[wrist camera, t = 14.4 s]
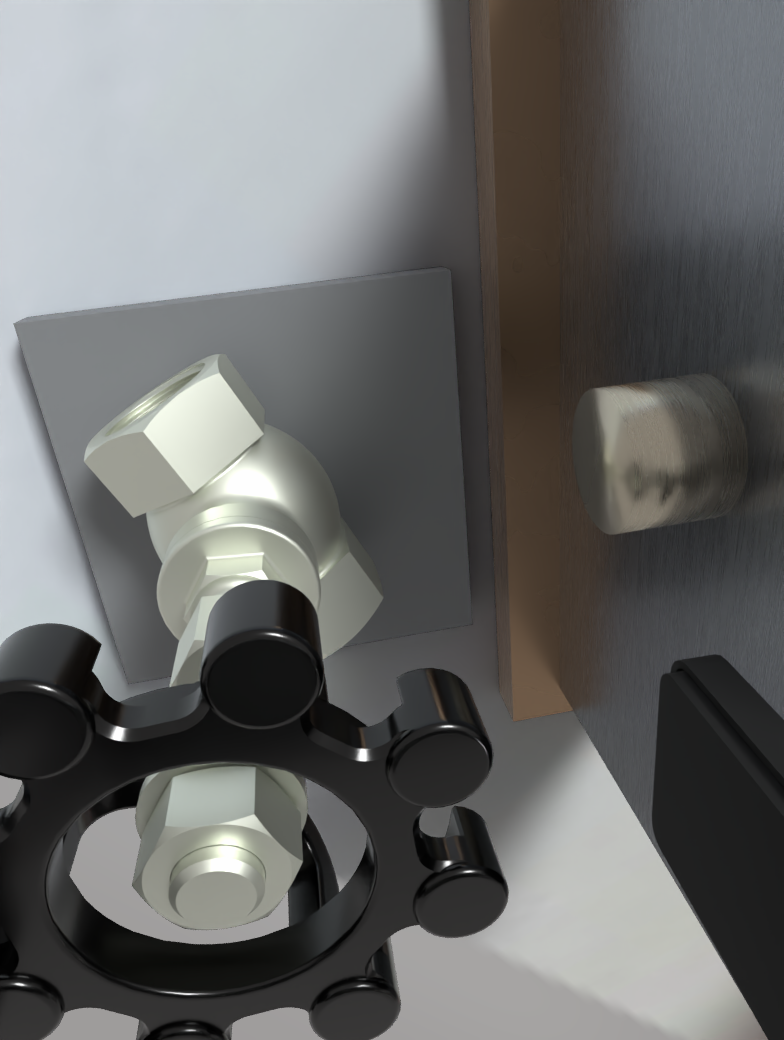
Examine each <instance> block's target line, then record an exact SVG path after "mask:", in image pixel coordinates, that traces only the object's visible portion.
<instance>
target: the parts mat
mask: <svg viewBox="0 0 784 1040" xmlns="http://www.w3.org/2000/svg"><path fill="white" fill-rule="evenodd" d="M14 327H15V330H16V333H17V336H18V339H19V342H20V346H21V349H22V352H23V355H24V358H25V361H26V364H27V367H28V371H29V374H30V377H31V380H32V383H33V386H34V389H35V393H36V396H37V399H38V402H39V405H40V408H41V411H42V415H43V418H44V421H45V424H46V427H47V430H48V433H49V437H50V440H51V443H52V446H53V449H54V452H55V455H56V459H57V462H58V465H59V468H60V471H61V474H62V477H63V480H64V484H65V487H66V490H67V493H68V496H69V499H70V502H71V506H72V509H73V512H74V515H75V518H76V521H77V524H78V528H79V531H80V534H81V537H82V540H83V543H84V546H85V550H86V553H87V556H88V559H89V562H90V565H91V568H92V571H93V575H94V578H95V581H96V584H97V587H98V590H99V593H100V597H101V600H102V603H103V606H104V609H105V612H106V615H107V619H108V622H109V625H110V628H111V631H112V634H113V637H114V641H115V644H116V647H117V650H118V653H119V656H120V659H121V662H122V666H123V669H124V672H125V675H126V678H127V681H128V684H132V683H138V682H144V681H150V680H155V679H161V678H167V677H171V676H172V672H173V667H174V662H175V657H176V653H177V648H178V643H179V640H178V639H177V638H176V637H175V636H174V635H173V634H172V632H171V631H170V630H169V628H168V627H167V626H166V624H165V622H164V620H163V618H162V615H161V613H160V611H159V607H158V601H157V582H158V578H159V574H160V570H161V567H162V564H163V563H162V562H161V560H160V558H159V556H158V554H157V552H156V550H155V548H154V546H153V543H152V540H151V537H150V533H149V529H148V524H147V517H146V513H144V514H142V515H139V516H137V517H134V518H133V517H132V516H131V515H130V513H129V512H128V511H127V510H126V509H125V508H124V507H123V505H122V504H121V503H120V502H119V501H118V500H117V499H116V498H115V496H114V495H113V494H112V493H111V492H110V491H109V490H108V488H107V487H106V486H105V485H104V484H103V483H102V482H101V481H100V479H99V478H98V477H97V476H96V475H95V474H94V473H93V471H92V470H91V469H90V468H89V467H88V466H87V465H86V463H85V462H84V456H85V451H86V448H87V445H88V443H89V442H90V441H91V439H92V438H93V437H94V436H95V435H96V434H97V433H98V432H99V431H100V430H101V429H102V428H103V427H105V426H106V425H107V424H108V423H109V422H110V421H112V420H113V419H114V418H115V417H116V416H118V415H119V414H120V413H121V412H123V411H124V410H125V409H126V408H128V407H129V406H130V405H132V404H133V403H134V402H136V401H137V400H138V399H140V398H141V397H143V396H144V395H145V394H147V393H148V392H150V391H151V390H153V389H154V388H155V387H157V386H158V385H160V384H161V383H163V382H164V381H166V380H167V379H169V378H170V377H172V376H174V375H175V374H177V373H178V372H180V371H182V370H183V369H185V368H187V367H189V366H190V365H192V364H194V363H196V362H198V361H200V360H202V359H204V358H206V357H208V356H211V355H215V354H225V355H226V356H227V358H228V359H229V360H230V362H231V363H232V365H233V366H234V367H235V369H236V370H237V372H238V373H239V374H240V376H241V377H242V379H243V380H244V381H245V383H246V384H247V386H248V387H249V388H250V390H251V391H252V393H253V394H254V395H255V397H256V398H257V400H258V401H259V402H260V404H261V405H262V407H263V408H264V409H265V416H264V424H267V425H270V426H272V427H275V428H277V429H279V430H281V431H283V432H285V433H286V434H288V435H290V436H291V437H293V438H294V439H296V440H297V441H298V442H300V443H301V444H302V445H303V446H304V447H305V448H307V449H308V450H309V451H310V452H311V454H312V455H313V456H314V457H315V458H316V459H317V461H318V462H319V463H320V464H321V466H322V467H323V469H324V470H325V472H326V473H327V475H328V477H329V479H330V481H331V483H332V486H333V488H334V491H335V494H336V497H337V500H338V506H339V511H340V518H341V517H342V518H343V520H344V521H345V523H346V524H347V525H348V527H349V528H350V530H351V531H352V532H353V534H354V535H355V537H356V538H357V539H358V541H359V542H360V544H361V545H362V546H363V548H364V549H365V551H366V552H367V553H368V555H369V556H370V558H371V559H372V560H373V562H374V565H375V567H376V570H377V572H378V575H379V578H380V581H381V585H382V589H383V597H384V598H383V600H382V601H381V603H380V605H379V606H378V608H377V610H376V611H375V612H374V614H373V615H372V617H371V618H370V619H369V621H368V622H367V623H366V624H365V626H364V627H363V628H362V629H361V630H360V631H359V632H358V633H357V634H356V635H355V636H354V637H353V638H352V639H351V640H350V641H349V642H348V643H346V644H345V645H344V646H343V647H345V646H351V645H357V644H363V643H368V642H374V641H380V640H386V639H391V638H397V637H403V636H409V635H414V634H420V633H426V632H432V631H437V630H443V629H449V628H455V627H460V626H466V625H472V608H471V592H470V576H469V559H468V543H467V527H466V510H465V494H464V478H463V461H462V445H461V429H460V412H459V396H458V380H457V363H456V347H455V331H454V314H453V298H452V282H451V270H449V269H447V268H444V267H434V268H426V269H418V270H410V271H402V272H393V273H385V274H377V275H369V276H361V277H352V278H344V279H336V280H328V281H320V282H311V283H303V284H295V285H287V286H279V287H270V288H262V289H254V290H246V291H238V292H229V293H221V294H213V295H205V296H197V297H188V298H180V299H172V300H164V301H156V302H147V303H139V304H131V305H123V306H115V307H106V308H98V309H90V310H82V311H74V312H65V313H57V314H49V315H41V316H33V317H27V318H25V319H22V320H20V321H18V322H16V323H14Z"/></svg>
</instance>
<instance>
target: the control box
mask: <svg viewBox="0 0 784 1040" xmlns="http://www.w3.org/2000/svg"><path fill="white" fill-rule="evenodd" d="M469 12H470V35H471V57H472V80H473V103H474V125H475V148H476V171H477V193H478V216H479V239H480V261H481V284H482V307H483V329H484V352H485V374H486V397H487V420H488V442H489V465H490V488H491V510H492V533H493V556H494V578H495V601H496V624H497V646H498V669H499V692H500V694H501V696H502V698H503V700H504V702H505V705H506V707H507V709H508V711H509V713H510V715H511V717H512V720H513V722H515V721H520V720H525V719H530V718H536V717H541V716H546V715H552V714H557V713H562V712H567V711H574V713H575V714H576V716H577V718H578V719H579V721H580V723H581V724H582V726H583V728H584V729H585V731H586V733H587V734H588V736H589V738H590V739H591V741H592V743H593V744H594V746H595V748H596V750H597V751H598V753H599V755H600V756H601V758H602V760H603V761H604V763H605V765H606V766H607V768H608V770H609V771H610V773H611V775H612V776H613V778H614V780H615V782H616V783H617V785H618V787H619V788H620V790H621V792H622V793H623V795H624V797H625V798H626V800H627V802H628V803H629V805H630V807H631V808H632V810H633V812H634V813H635V815H636V817H637V819H638V820H639V822H640V824H641V825H642V827H643V829H644V830H645V832H646V834H647V835H648V837H649V839H650V840H651V842H652V844H653V845H654V847H655V849H656V850H657V852H658V854H659V856H660V857H661V859H662V861H663V862H664V864H665V866H666V867H667V869H668V871H669V872H670V874H671V876H672V877H673V879H674V881H675V882H676V884H677V886H678V887H679V889H680V891H681V893H682V894H683V896H684V898H685V899H686V901H687V903H688V904H689V906H690V908H691V909H692V911H693V913H694V914H695V916H696V918H697V919H698V921H699V923H700V924H701V926H702V928H703V930H704V931H705V933H706V935H707V936H708V938H709V940H710V941H711V943H712V945H713V946H714V948H715V950H716V951H717V953H718V955H719V956H720V954H719V952H718V950H717V949H716V947H715V945H714V943H713V941H712V940H711V938H710V936H709V934H708V933H707V931H706V929H705V927H704V926H703V924H702V922H701V920H700V919H699V917H698V915H697V913H696V912H695V910H694V908H693V906H692V904H691V903H690V901H689V899H688V897H687V896H686V894H685V892H684V890H683V889H682V887H681V885H680V883H679V882H678V880H677V878H676V876H675V875H674V873H673V871H672V869H671V867H670V866H669V864H668V862H667V860H666V859H665V857H664V855H663V853H662V852H661V850H660V848H659V846H658V844H657V841H656V838H655V835H654V831H653V827H652V805H653V788H654V772H655V756H656V739H657V723H658V706H659V690H660V680H661V677H662V675H663V674H665V673H670V672H671V667H672V665H673V663H674V662H675V661H677V660H682V659H689V658H695V657H701V656H707V655H713V654H717V655H721V656H722V657H723V658H725V659H726V660H727V661H728V662H729V663H730V664H731V665H732V666H733V667H734V668H735V669H736V670H737V671H738V672H739V674H740V675H741V676H742V677H743V678H744V679H745V680H746V681H747V682H748V683H749V684H750V685H751V686H752V687H753V688H754V689H755V690H756V691H757V692H758V693H759V694H760V695H761V697H762V698H763V699H764V700H765V701H766V702H767V703H768V704H769V705H770V706H771V707H772V708H773V709H774V710H775V711H776V712H777V713H778V714H779V715H780V716H781V717H782V718H783V720H784V0H469ZM720 958H721V960H722V961H723V959H722V957H721V956H720ZM723 963H724V961H723ZM724 965H725V967H726V968H727V966H726V964H725V963H724ZM727 970H728V968H727ZM728 972H729V973H730V971H729V970H728ZM730 975H731V973H730ZM731 977H732V975H731ZM732 978H733V977H732ZM733 980H734V978H733ZM734 982H735V980H734ZM735 983H736V982H735ZM736 985H737V984H736ZM737 987H738V986H737ZM738 988H739V987H738ZM739 990H740V989H739ZM740 992H741V991H740ZM742 995H743V994H742ZM743 997H744V996H743ZM746 1002H747V1001H746ZM747 1004H748V1003H747ZM750 1009H751V1008H750Z"/></svg>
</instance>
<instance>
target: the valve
mask: <svg viewBox="0 0 784 1040" xmlns="http://www.w3.org/2000/svg"><path fill="white" fill-rule="evenodd" d="M264 416H265V409H264V408H263V407H262V405H261V404H260V402H259V401H258V400H257V398H256V397H255V395H254V394H253V393H252V391H251V390H250V388H249V387H248V386H247V384H246V383H245V381H244V380H243V379H242V377H241V376H240V374H239V373H238V372H237V370H236V369H235V367H234V366H233V365H232V363H231V362H230V360H229V359H228V358H227V356H226V355H225V354H215V355H211V356H208V357H206V358H204V359H202V360H200V361H198V362H196V363H194V364H192V365H190V366H189V367H187V368H185V369H183V370H182V371H180V372H178V373H177V374H175V375H174V376H172V377H170V378H169V379H167V380H166V381H164V382H163V383H161V384H160V385H158V386H157V387H155V388H154V389H153V390H151V391H150V392H148V393H147V394H145V395H144V396H143V397H141V398H140V399H138V400H137V401H136V402H134V403H133V404H132V405H130V406H129V407H128V408H126V409H125V410H124V411H123V412H121V413H120V414H119V415H118V416H116V417H115V418H114V419H113V420H112V421H110V422H109V423H108V424H107V425H106V426H105V427H103V428H102V429H101V430H100V431H99V432H98V433H97V434H96V435H95V436H94V437H93V438H92V439H91V441H90V442H89V443H88V445H87V448H86V451H85V456H84V462H85V463H86V465H87V466H88V467H89V468H90V469H91V470H92V471H93V473H94V474H95V475H96V476H97V477H98V478H99V479H100V481H101V482H102V483H103V484H104V485H105V486H106V487H107V488H108V490H109V491H110V492H111V493H112V494H113V495H114V496H115V498H116V499H117V500H118V501H119V502H120V503H121V504H122V505H123V507H124V508H125V509H126V510H127V511H128V512H129V513H130V515H131V516H132V517H133V518H134V517H137V516H139V515H142V514H144V513H146V517H147V524H148V529H149V533H150V537H151V540H152V543H153V546H154V548H155V550H156V552H157V554H158V556H159V558H160V560H161V562H162V563H163V564H162V567H161V570H160V574H159V578H158V582H157V601H158V607H159V611H160V613H161V615H162V618H163V620H164V622H165V624H166V626H167V627H168V628H169V630H170V631H171V632H172V634H173V635H174V636H175V637H176V638H177V639H178V640H179V643H178V648H177V653H176V657H175V662H174V667H173V672H172V676H171V681H170V686H169V687H167V688H162V689H157V690H154V691H151V692H147V693H144V694H141V695H137V696H134V697H131V698H129V699H126V700H124V701H121V702H117V701H115V700H114V699H113V698H111V697H110V696H109V695H108V694H107V693H106V692H105V690H104V689H103V687H102V685H101V683H100V681H99V680H98V678H97V677H96V675H95V674H94V673H93V672H92V669H93V667H94V664H95V661H96V659H97V656H98V654H99V651H100V648H101V643H100V642H99V641H97V640H96V639H95V638H94V637H93V636H91V635H89V634H88V633H86V632H84V631H82V630H80V629H77V628H75V627H72V626H68V625H63V624H52V623H46V624H37V625H33V626H29V627H26V628H24V629H21V630H19V631H17V632H15V633H14V634H12V635H11V636H10V637H8V638H7V639H6V640H5V641H4V642H3V643H2V644H1V646H0V775H1V776H4V777H8V778H13V779H18V780H22V782H23V783H22V785H21V787H20V790H19V792H18V794H17V796H16V799H15V800H14V801H13V802H12V803H11V804H9V805H8V806H6V807H4V808H1V809H0V1040H42V1039H44V1038H45V1037H47V1036H48V1035H50V1034H51V1033H52V1032H53V1031H54V1030H55V1029H56V1028H57V1027H58V1025H59V1024H60V1022H61V1020H62V1018H63V1015H64V1013H65V1012H67V1011H70V1010H74V1009H78V1008H86V1007H87V1008H89V1007H91V1008H101V1009H105V1010H109V1011H113V1012H116V1013H120V1014H124V1015H128V1016H132V1017H135V1018H137V1019H139V1025H138V1031H137V1038H136V1040H231V1037H232V1024H233V1022H235V1021H237V1020H239V1019H241V1018H243V1017H246V1016H250V1015H254V1014H258V1013H262V1012H266V1011H269V1010H274V1009H278V1008H284V1007H295V1008H300V1009H304V1010H306V1011H307V1012H308V1013H309V1020H310V1024H311V1027H312V1029H313V1031H314V1032H315V1033H316V1034H317V1035H318V1036H319V1037H321V1038H322V1039H324V1040H371V1039H373V1038H375V1037H377V1036H379V1035H381V1034H382V1033H384V1032H385V1031H387V1030H388V1029H389V1028H390V1027H391V1026H392V1025H393V1023H394V1022H395V1021H396V1019H397V1018H398V1015H399V1012H400V1008H401V1007H400V1006H401V1000H400V994H399V988H398V982H397V976H396V970H395V963H394V957H393V951H392V945H391V939H390V936H391V935H393V934H394V933H396V932H397V931H399V930H401V929H404V928H406V927H409V926H414V925H420V926H421V927H422V928H423V929H425V930H426V931H427V932H429V933H431V934H433V935H436V936H439V937H445V938H458V937H464V936H469V935H472V934H475V933H477V932H480V931H482V930H484V929H485V928H487V927H488V926H490V925H491V924H492V923H493V922H495V921H496V920H497V919H498V918H499V916H500V915H501V914H502V912H503V911H504V909H505V907H506V904H507V902H508V894H509V891H508V885H507V882H506V879H505V876H504V873H503V870H502V867H501V865H500V862H499V859H498V856H497V853H496V850H495V847H494V844H493V842H492V839H491V836H490V833H489V830H488V827H487V825H486V822H485V821H484V820H483V818H482V817H481V816H480V815H479V814H477V813H476V812H474V811H473V810H470V809H468V808H465V807H460V806H454V807H453V809H452V811H451V816H450V822H449V826H448V829H447V833H446V836H445V837H441V838H437V837H431V836H428V835H426V834H424V833H423V832H422V831H421V830H420V828H419V818H420V816H421V813H422V812H423V810H424V809H425V808H438V807H445V806H449V805H453V804H455V803H458V802H460V801H462V800H464V799H466V798H468V797H469V796H471V795H472V794H473V793H475V792H476V791H477V790H478V789H479V788H480V787H481V786H482V785H483V783H484V782H485V780H486V779H487V777H488V776H489V773H490V771H491V768H492V765H493V749H492V745H491V742H490V740H489V737H488V735H487V732H486V730H485V727H484V725H483V722H482V720H481V717H480V715H479V713H478V710H477V708H476V705H475V703H474V700H473V698H472V695H471V693H470V691H469V689H468V687H467V685H466V684H465V683H464V682H463V681H462V680H461V679H460V678H459V677H458V676H456V675H454V674H453V673H451V672H448V671H445V670H442V669H435V668H425V669H417V670H414V671H410V672H407V673H405V674H403V675H401V676H399V677H397V685H398V689H399V693H400V697H401V701H402V705H401V706H400V707H398V708H397V709H396V710H395V711H394V712H393V713H392V714H391V715H390V716H389V717H388V718H387V719H385V720H384V721H382V722H381V723H379V724H376V725H374V726H370V727H367V726H366V725H365V724H364V723H362V722H361V721H359V720H358V719H356V718H355V717H353V716H352V715H350V714H349V713H348V712H346V711H344V710H342V709H340V708H338V707H336V706H334V705H332V704H330V703H329V702H328V693H327V685H326V679H325V674H324V665H323V659H325V658H327V657H328V656H330V655H331V654H333V653H334V652H336V651H337V650H339V649H340V648H341V647H343V646H344V645H345V644H346V643H348V642H349V641H350V640H351V639H352V638H353V637H354V636H355V635H356V634H357V633H358V632H359V631H360V630H361V629H362V628H363V627H364V626H365V624H366V623H367V622H368V621H369V619H370V618H371V617H372V615H373V614H374V612H375V611H376V610H377V608H378V606H379V605H380V603H381V601H382V600H383V598H384V597H383V589H382V585H381V581H380V578H379V575H378V572H377V570H376V567H375V565H374V562H373V560H372V559H371V558H370V556H369V555H368V553H367V552H366V551H365V549H364V548H363V546H362V545H361V544H360V542H359V541H358V539H357V538H356V537H355V535H354V534H353V532H352V531H351V530H350V528H349V527H348V525H347V524H346V523H345V521H344V520H343V518H342V517H341V518H340V511H339V506H338V500H337V497H336V494H335V491H334V488H333V486H332V483H331V481H330V479H329V477H328V475H327V473H326V472H325V470H324V469H323V467H322V466H321V464H320V463H319V462H318V461H317V459H316V458H315V457H314V456H313V455H312V454H311V452H310V451H309V450H308V449H307V448H305V447H304V446H303V445H302V444H301V443H300V442H298V441H297V440H296V439H294V438H293V437H291V436H290V435H288V434H286V433H285V432H283V431H281V430H279V429H277V428H275V427H272V426H270V425H267V424H264ZM306 779H309V780H311V781H313V782H315V783H317V784H318V785H320V786H322V787H324V788H326V789H327V790H329V791H331V792H332V793H334V794H335V795H336V796H337V797H338V798H339V799H341V800H342V801H343V802H344V803H345V804H346V805H348V806H349V807H350V808H351V809H352V810H353V811H354V813H355V814H356V815H357V817H358V818H359V820H360V821H361V822H362V824H363V825H364V827H365V828H366V830H367V833H368V835H367V844H366V849H365V852H364V855H363V858H362V860H361V862H360V864H359V866H358V868H357V870H356V872H355V873H354V875H353V876H352V878H351V879H350V880H349V882H348V883H347V884H346V885H345V887H344V888H343V889H342V890H341V891H340V892H339V887H338V883H337V879H336V874H335V871H334V868H333V865H332V862H331V859H330V856H329V854H328V851H327V849H326V846H325V844H324V842H323V840H322V838H321V836H320V834H319V832H318V830H317V828H316V826H315V824H314V823H313V821H312V819H311V818H310V816H309V815H308V813H307V810H308V807H307V790H306ZM128 808H136V815H135V819H136V827H137V831H138V834H139V836H140V838H141V844H140V849H139V854H138V858H137V863H136V869H135V873H134V879H133V883H132V886H133V888H134V889H135V890H136V891H137V893H138V894H139V895H140V896H141V897H142V898H143V899H144V901H145V902H147V904H148V905H149V906H151V908H153V909H154V910H155V911H156V912H157V913H159V914H160V915H161V916H162V917H164V918H165V919H167V920H168V921H170V922H172V923H174V924H176V925H178V926H180V927H182V928H185V929H194V930H217V929H225V928H231V927H236V926H240V925H244V924H248V923H251V922H254V921H257V920H259V919H262V918H265V917H267V916H269V914H270V913H272V911H273V910H274V909H275V908H276V907H277V906H278V904H279V903H280V902H281V900H282V899H283V897H284V896H285V894H286V892H287V891H288V903H289V905H288V906H289V927H287V928H284V929H281V930H279V931H276V932H273V933H270V934H268V935H265V936H262V937H258V938H254V939H250V940H246V941H240V942H233V943H226V944H225V943H224V944H212V945H211V944H206V945H205V944H200V945H199V944H188V943H180V942H171V941H163V940H160V939H156V938H153V937H150V936H147V935H143V934H140V933H136V932H133V931H131V930H129V929H127V928H124V927H122V926H120V925H118V924H116V923H115V922H113V921H112V920H110V919H108V918H106V917H105V916H104V915H102V914H101V913H100V912H99V911H97V910H96V909H95V908H94V907H93V906H91V904H90V903H88V902H87V901H86V900H85V899H84V897H83V896H82V894H81V893H80V891H79V890H78V888H77V887H76V885H75V884H74V882H73V881H72V879H71V878H70V876H69V874H70V871H71V868H72V864H73V861H74V857H75V854H76V851H77V847H78V844H79V841H80V838H81V836H82V835H83V833H84V832H85V831H86V829H87V828H88V827H89V826H90V825H91V824H93V823H94V822H95V821H96V820H98V819H99V818H101V817H102V816H105V815H107V814H109V813H111V812H114V811H117V810H122V809H128Z"/></svg>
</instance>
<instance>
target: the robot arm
mask: <svg viewBox="0 0 784 1040" xmlns="http://www.w3.org/2000/svg"><path fill="white" fill-rule="evenodd" d="M652 827H653V831H654V835H655V838H656V841H657V844H658V846H659V848H660V850H661V852H662V853H663V855H664V857H665V859H666V860H667V862H668V864H669V866H670V867H671V869H672V871H673V873H674V875H675V876H676V878H677V880H678V882H679V883H680V885H681V887H682V889H683V890H684V892H685V894H686V896H687V897H688V899H689V901H690V903H691V904H692V906H693V908H694V910H695V912H696V913H697V915H698V917H699V919H700V920H701V922H702V924H703V926H704V927H705V929H706V931H707V933H708V934H709V936H710V938H711V940H712V941H713V943H714V945H715V947H716V949H717V950H718V952H719V954H720V956H721V957H722V959H723V961H724V963H725V964H726V966H727V968H728V970H729V971H730V973H731V975H732V977H733V978H734V980H735V982H736V984H737V986H738V987H739V989H740V991H741V993H742V994H743V996H744V998H745V1000H746V1001H747V1003H748V1005H749V1007H750V1008H751V1010H752V1012H753V1014H754V1015H755V1017H756V1019H757V1021H758V1023H759V1024H760V1026H761V1028H762V1030H763V1031H764V1033H765V1035H766V1037H767V1038H768V1040H784V720H783V718H782V717H781V716H780V715H779V714H778V713H777V712H776V711H775V710H774V709H773V708H772V707H771V706H770V705H769V704H768V703H767V702H766V701H765V700H764V699H763V698H762V697H761V695H760V694H759V693H758V692H757V691H756V690H755V689H754V688H753V687H752V686H751V685H750V684H749V683H748V682H747V681H746V680H745V679H744V678H743V677H742V676H741V675H740V674H739V672H738V671H737V670H736V669H735V668H734V667H733V666H732V665H731V664H730V663H729V662H728V661H727V660H726V659H725V658H723V657H722V656H721V655H717V654H713V655H707V656H701V657H695V658H689V659H682V660H677V661H675V662H674V663H673V665H672V667H671V672H670V673H665V674H663V675H662V677H661V680H660V690H659V706H658V723H657V739H656V756H655V772H654V788H653V805H652Z"/></svg>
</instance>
